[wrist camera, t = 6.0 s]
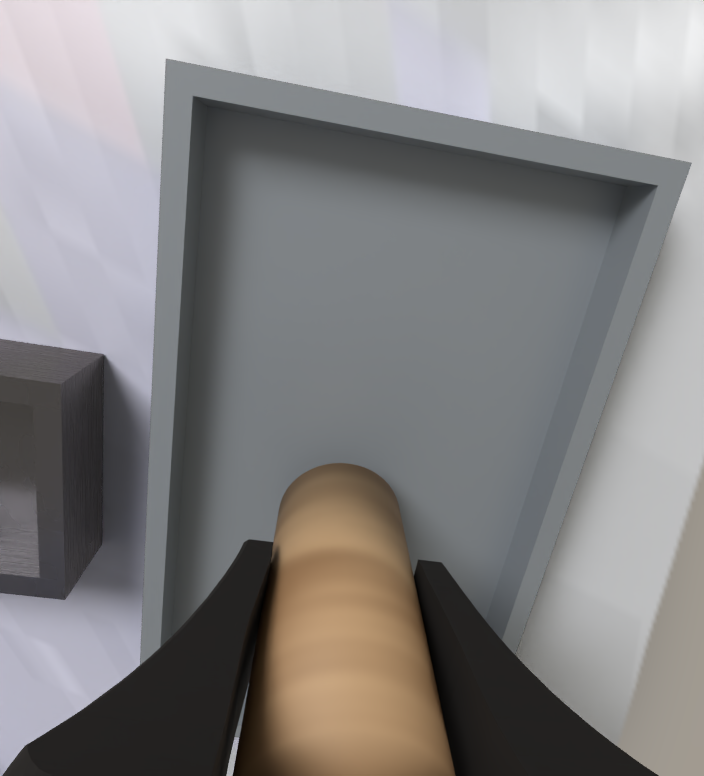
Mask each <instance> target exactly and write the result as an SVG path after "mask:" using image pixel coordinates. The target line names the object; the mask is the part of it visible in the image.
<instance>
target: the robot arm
mask: <svg viewBox="0 0 704 776" xmlns="http://www.w3.org/2000/svg"><path fill="white" fill-rule="evenodd" d="M273 543H274V542H268V541H260V540H252V539H248V540H247V541H245V542H244V543H243V545H242V547H241V549H240V551H239V553H238V555H237V556H236V558H235V560H234V561H233V563H232V564H231V566H230V567H229V569H228V570H227V572H226V573H225V574H224V576H223V577H222V578H221V580H220V581H219V582H218V584H217V585H216V586H215V588H214V589H213V590H212V592H211V593H210V594H209V596H208V597H207V598H206V599H205V600H204V602H203V603H202V604H201V605H200V606H199V607H198V608H197V610H196V611H195V612H194V613H193V614H192V615H191V616H190V618H189V619H188V620H187V621H186V622H185V623H184V624H183V625H182V626H181V627H180V628H179V629H178V630H177V631H176V633H175V634H174V635H173V636H172V637H171V638H169V639H168V640H167V641H166V642H165V643H164V644H163V645H162V646H161V647H160V648H159V649H158V650H157V651H156V652H155V653H154V654H152V655H151V656H150V657H149V658H148V659H147V660H146V661H144V662H143V663H142V664H141V665H140V666H139V667H138V668H136V669H135V670H134V671H133V672H132V673H130V674H129V675H128V676H127V677H126V678H124V679H123V680H122V681H121V682H119V683H118V684H117V685H115V686H114V687H113V688H111V689H110V690H108V691H107V692H106V693H104V694H103V695H102V696H100V697H99V698H98V699H96V700H95V701H94V702H92V703H91V704H89V705H88V706H87V707H85V708H84V709H83V710H81V711H80V712H78V713H77V714H75V715H74V716H72V717H71V718H69V719H67V720H66V721H64V722H63V723H61V724H59V725H58V726H56V727H55V728H53V729H52V730H50V731H48V732H47V733H45V734H44V735H42V736H40V737H39V738H37V739H36V740H34V741H32V742H31V743H29V744H27V745H26V746H25V747H24V748H23V749H22V750H21V752H20V753H19V754H18V755H17V757H16V758H15V759H14V761H13V762H12V763H11V765H10V766H9V767H8V768H7V770H6V771H5V773H4V774H3V776H226V774H227V769H228V763H229V759H230V754H231V750H232V745H233V741H234V737H235V733H236V729H237V726H238V722H239V718H240V714H241V710H242V707H243V703H244V699H245V695H246V691H247V688H248V684H249V680H250V674H251V668H252V663H253V657H254V651H255V645H256V639H257V634H258V628H259V622H260V616H261V611H262V606H263V601H264V597H265V593H266V587H267V581H268V576H269V570H270V564H271V557H272V550H273ZM414 581H415V585H416V590H417V595H418V600H419V604H420V609H421V614H422V619H423V623H424V628H425V633H426V638H427V642H428V647H429V652H430V657H431V661H432V666H433V671H434V676H435V680H436V685H437V690H438V695H439V699H440V704H441V709H442V714H443V718H444V723H445V728H446V733H447V737H448V742H449V747H450V752H451V756H452V761H453V766H454V771H455V775H456V776H658V775H657V774H655V773H654V772H652V771H651V770H649V769H648V768H646V767H645V766H643V765H642V764H640V763H639V762H637V761H636V760H635V759H633V758H632V757H631V756H629V755H628V754H627V753H625V752H624V751H623V750H621V749H620V748H619V747H617V746H616V745H614V744H613V743H612V742H610V741H609V740H608V739H607V738H605V737H604V736H603V735H601V734H600V733H599V732H598V731H596V730H595V729H594V728H593V727H591V726H590V725H589V724H588V723H586V722H585V721H584V720H583V719H582V718H581V717H579V716H578V715H577V714H576V713H575V712H574V711H572V710H571V709H570V708H569V707H568V706H567V705H565V704H564V703H563V702H562V701H561V700H560V699H559V698H558V697H557V696H555V695H554V694H553V693H552V692H551V691H550V690H549V689H548V688H547V687H546V686H545V685H544V684H543V683H542V682H541V681H540V680H539V679H538V678H537V677H536V676H535V675H534V674H533V673H532V672H531V671H530V670H529V669H528V668H527V667H526V666H525V665H524V664H523V663H522V662H521V661H520V660H519V659H518V658H517V657H516V656H515V655H514V653H513V652H512V651H511V650H510V649H509V648H508V647H507V645H506V644H505V643H504V642H503V641H502V640H501V639H500V638H499V636H498V635H497V634H496V633H495V632H494V630H493V629H492V628H491V627H490V626H489V624H488V623H487V622H486V621H485V619H484V618H483V617H482V616H481V614H480V613H479V612H478V610H477V609H476V608H475V607H474V605H473V604H472V603H471V601H470V600H469V599H468V597H467V596H466V595H465V593H464V592H463V591H462V589H461V588H460V587H459V585H458V584H457V582H456V581H455V580H454V578H453V577H452V576H451V574H450V573H449V571H448V570H447V569H446V567H445V566H444V565H443V563H442V562H435V561H427V560H418V562H417V566H416V569H415V573H414Z"/></svg>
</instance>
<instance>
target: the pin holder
mask: <svg viewBox="0 0 704 776" xmlns="http://www.w3.org/2000/svg"><path fill="white" fill-rule="evenodd" d="M103 363H104V354H98V353H91V352H84V351H77V350H71V349H64V348H57V347H50V346H43V345H37V344H30V343H23V342H16V341H10V340H3V339H0V593H6V594H16V595H25V596H35V597H44V598H53V599H63V600H65V599H66V598H67V596H68V595H69V593H70V592H71V590H72V589H73V587H74V586H75V584H76V583H77V581H78V580H79V578H80V577H81V575H82V573H83V572H84V570H85V569H86V567H87V566H88V564H89V563H90V561H91V560H92V558H93V557H94V555H95V554H96V552H97V551H98V549H99V548H100V546H101V545H102V471H103Z"/></svg>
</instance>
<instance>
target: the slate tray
mask: <svg viewBox="0 0 704 776" xmlns="http://www.w3.org/2000/svg"><path fill="white" fill-rule="evenodd" d="M691 164H692V163H690V162H685V161H680V160H675V159H670V158H665V157H660V156H655V155H650V154H645V153H640V152H635V151H629V150H624V149H619V148H614V147H609V146H604V145H599V144H594V143H589V142H584V141H579V140H574V139H569V138H564V137H559V136H554V135H549V134H544V133H539V132H534V131H529V130H524V129H519V128H513V127H508V126H503V125H498V124H493V123H488V122H483V121H478V120H473V119H468V118H463V117H458V116H453V115H448V114H443V113H438V112H433V111H428V110H423V109H418V108H413V107H408V106H402V105H397V104H392V103H387V102H382V101H377V100H372V99H367V98H362V97H357V96H352V95H347V94H342V93H337V92H332V91H327V90H322V89H317V88H312V87H307V86H302V85H297V84H292V83H286V82H281V81H276V80H271V79H266V78H261V77H256V76H251V75H246V74H241V73H236V72H231V71H226V70H221V69H216V68H211V67H206V66H201V65H196V64H191V63H186V62H181V61H176V60H170V59H166V68H165V91H164V115H163V138H162V161H161V185H160V208H159V232H158V255H157V279H156V302H155V325H154V349H153V372H152V396H151V419H150V442H149V466H148V489H147V513H146V536H145V559H144V583H143V606H142V630H141V653H140V665H141V664H142V663H143V662H144V661H146V660H147V659H148V658H149V657H150V656H151V655H152V654H154V653H155V652H156V651H157V650H158V649H159V648H160V647H161V646H162V645H163V644H164V643H165V642H166V641H167V640H168V639H169V638H171V637H172V636H173V635H174V634H175V633H176V631H177V630H178V629H179V628H180V627H181V626H182V625H183V624H184V623H185V622H186V621H187V620H188V619H189V618H190V616H191V615H192V614H193V613H194V612H195V611H196V610H197V608H198V607H199V606H200V605H201V604H202V603H203V602H204V600H205V599H206V598H207V597H208V596H209V594H210V593H211V592H212V590H213V589H214V588H215V586H216V585H217V584H218V582H219V581H220V580H221V578H222V577H223V576H224V574H225V573H226V572H227V570H228V569H229V567H230V566H231V564H232V563H233V561H234V560H235V558H236V556H237V555H238V553H239V551H240V549H241V547H242V545H243V543H244V542H245V541H247V540H248V539H252V540H260V541H268V542H273V541H274V535H275V530H276V524H277V518H278V512H279V507H280V503H281V500H282V497H283V495H284V493H285V492H286V490H287V488H288V487H289V486H290V485H291V483H292V482H293V481H294V480H295V479H296V478H298V477H299V476H300V475H302V474H303V473H305V472H307V471H308V470H310V469H313V468H315V467H318V466H322V465H325V464H332V463H348V464H354V465H358V466H361V467H365V468H367V469H369V470H371V471H373V472H375V473H376V474H378V475H379V476H380V477H382V478H383V479H384V480H385V481H386V482H387V483H388V484H389V486H390V487H391V488H392V490H393V492H394V494H395V496H396V498H397V501H398V504H399V509H400V514H401V519H402V523H403V528H404V533H405V538H406V542H407V547H408V552H409V557H410V561H411V566H412V571H413V576H414V573H415V569H416V566H417V562H418V560H427V561H435V562H442V563H443V565H444V566H445V567H446V569H447V570H448V571H449V573H450V574H451V576H452V577H453V578H454V580H455V581H456V582H457V584H458V585H459V587H460V588H461V589H462V591H463V592H464V593H465V595H466V596H467V597H468V599H469V600H470V601H471V603H472V604H473V605H474V607H475V608H476V609H477V610H478V612H479V613H480V614H481V616H482V617H483V618H484V619H485V621H486V622H487V623H488V624H489V626H490V627H491V628H492V629H493V630H494V632H495V633H496V634H497V635H498V636H499V638H500V639H501V640H502V641H503V642H504V643H505V644H506V645H507V647H508V648H509V649H510V650H511V651H512V652H513V653H514V655H515V654H516V651H517V648H518V645H519V643H520V640H521V637H522V634H523V631H524V629H525V626H526V623H527V620H528V618H529V615H530V612H531V609H532V606H533V604H534V601H535V598H536V595H537V592H538V590H539V587H540V584H541V581H542V579H543V576H544V573H545V570H546V567H547V565H548V562H549V559H550V556H551V553H552V551H553V548H554V545H555V542H556V540H557V537H558V534H559V531H560V528H561V526H562V523H563V520H564V517H565V514H566V512H567V509H568V506H569V503H570V501H571V498H572V495H573V492H574V489H575V487H576V484H577V481H578V478H579V475H580V473H581V470H582V467H583V464H584V462H585V459H586V456H587V453H588V450H589V448H590V445H591V442H592V439H593V437H594V434H595V431H596V428H597V425H598V423H599V420H600V417H601V414H602V411H603V409H604V406H605V403H606V400H607V398H608V395H609V392H610V389H611V386H612V384H613V381H614V378H615V375H616V372H617V370H618V367H619V364H620V361H621V359H622V356H623V353H624V350H625V347H626V345H627V342H628V339H629V336H630V333H631V331H632V328H633V325H634V322H635V320H636V317H637V314H638V311H639V308H640V306H641V303H642V300H643V297H644V294H645V292H646V289H647V286H648V283H649V281H650V278H651V275H652V272H653V269H654V267H655V264H656V261H657V258H658V256H659V253H660V250H661V247H662V244H663V242H664V239H665V236H666V233H667V230H668V228H669V225H670V222H671V219H672V217H673V214H674V211H675V208H676V205H677V203H678V200H679V197H680V194H681V191H682V189H683V186H684V183H685V180H686V178H687V175H688V172H689V169H690V166H691ZM248 686H249V684H248ZM247 691H248V688H247ZM247 691H246V695H245V699H244V703H243V707H242V710H241V714H240V718H239V722H238V726H237V729H236V733H235V737H239V738H240V732H241V726H242V720H243V714H244V709H245V703H246V697H247Z"/></svg>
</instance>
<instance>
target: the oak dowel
mask: <svg viewBox="0 0 704 776" xmlns="http://www.w3.org/2000/svg"><path fill="white" fill-rule="evenodd" d="M273 542H274V543H273V550H272V557H271V564H270V570H269V576H268V581H267V587H266V593H265V597H264V601H263V606H262V611H261V616H260V622H259V628H258V634H257V639H256V645H255V651H254V657H253V663H252V668H251V674H250V680H249V686H248V691H247V697H246V703H245V709H244V714H243V720H242V726H241V732H240V738H239V743H238V749H237V755H236V761H235V766H234V772H233V776H456V775H455V771H454V766H453V761H452V756H451V752H450V747H449V742H448V737H447V733H446V728H445V723H444V718H443V714H442V709H441V704H440V699H439V695H438V690H437V685H436V680H435V676H434V671H433V666H432V661H431V657H430V652H429V647H428V642H427V638H426V633H425V628H424V623H423V619H422V614H421V609H420V604H419V600H418V595H417V590H416V585H415V581H414V576H413V571H412V566H411V561H410V557H409V552H408V547H407V542H406V538H405V533H404V528H403V523H402V519H401V514H400V509H399V504H398V501H397V498H396V496H395V494H394V492H393V490H392V488H391V487H390V486H389V484H388V483H387V482H386V481H385V480H384V479H383V478H382V477H380V476H379V475H378V474H376V473H375V472H373V471H371V470H369V469H367V468H365V467H361V466H358V465H354V464H348V463H332V464H325V465H322V466H318V467H315V468H313V469H310V470H308V471H307V472H305V473H303V474H302V475H300V476H299V477H298V478H296V479H295V480H294V481H293V482H292V483H291V485H290V486H289V487H288V488H287V490H286V492H285V493H284V495H283V497H282V500H281V503H280V507H279V512H278V518H277V524H276V530H275V535H274V541H273Z"/></svg>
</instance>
